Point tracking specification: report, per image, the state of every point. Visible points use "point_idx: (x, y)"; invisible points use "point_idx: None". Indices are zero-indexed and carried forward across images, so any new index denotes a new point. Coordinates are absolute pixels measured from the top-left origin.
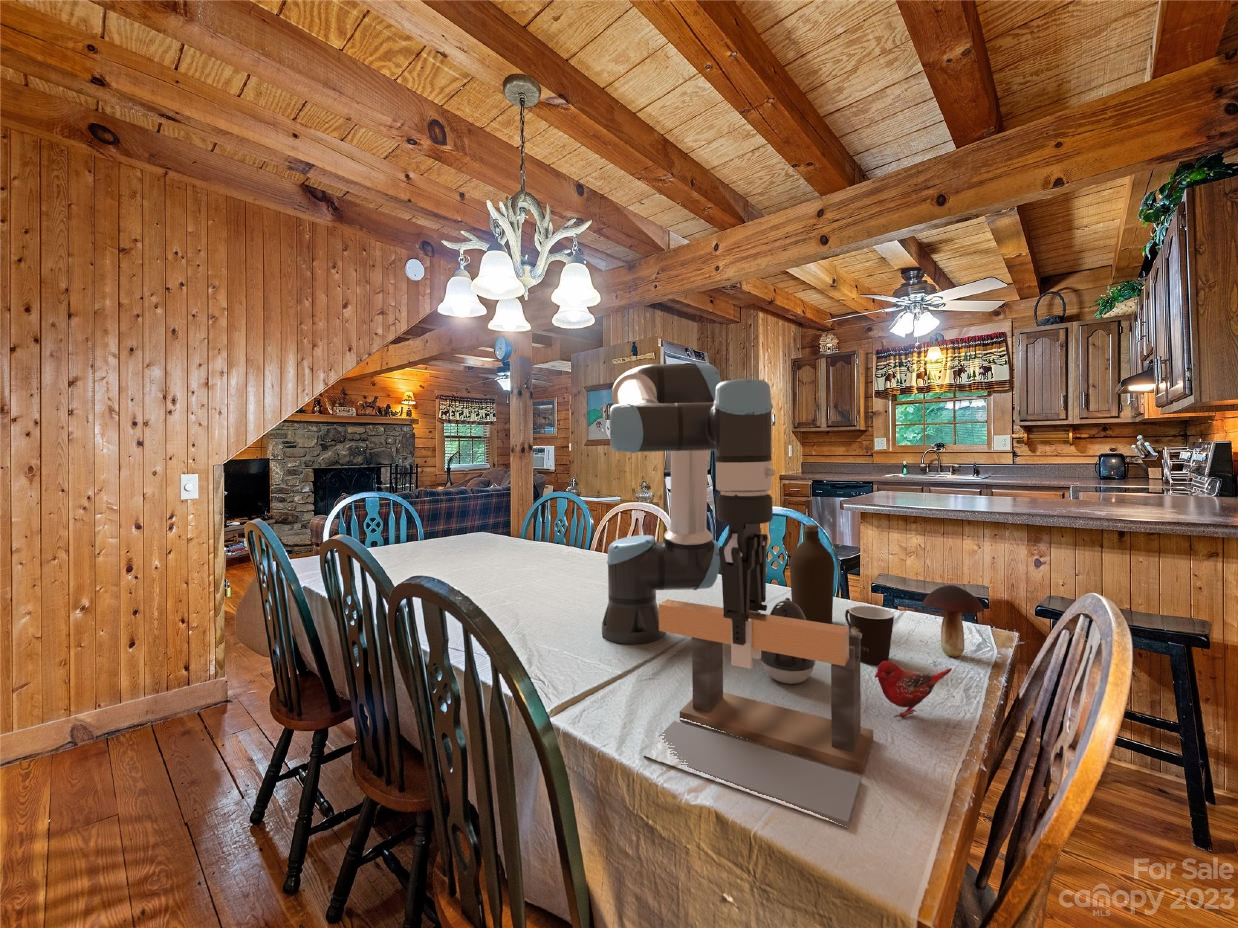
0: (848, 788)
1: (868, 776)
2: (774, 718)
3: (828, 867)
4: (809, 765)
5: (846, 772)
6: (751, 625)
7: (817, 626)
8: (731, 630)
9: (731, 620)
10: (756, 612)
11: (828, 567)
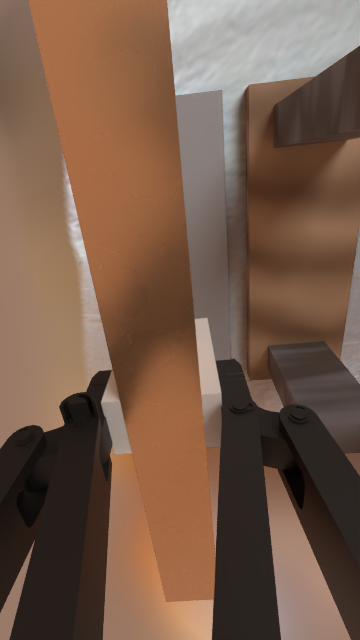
0: None
1: (246, 377)
2: (308, 258)
3: (89, 379)
4: (220, 330)
5: None
6: None
7: (181, 566)
8: (110, 376)
9: (104, 397)
10: (210, 439)
11: None
